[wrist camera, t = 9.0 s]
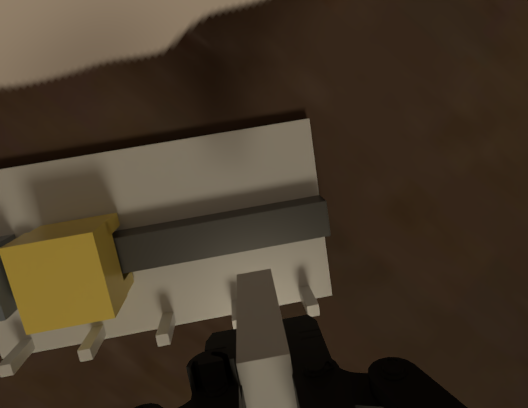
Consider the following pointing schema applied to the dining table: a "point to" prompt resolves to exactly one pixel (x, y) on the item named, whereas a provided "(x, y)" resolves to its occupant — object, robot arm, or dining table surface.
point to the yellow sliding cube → (66, 274)
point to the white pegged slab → (178, 228)
